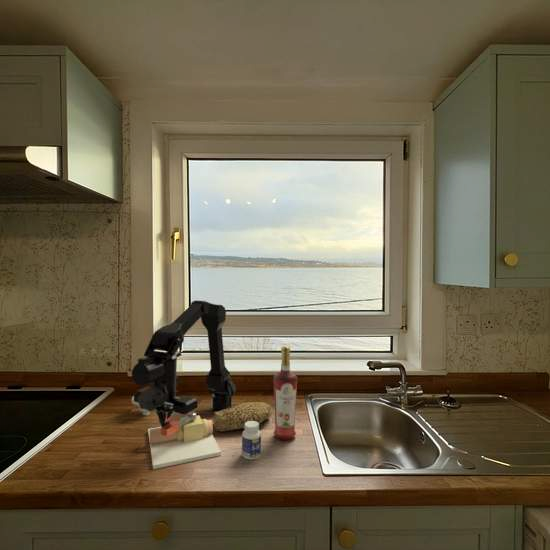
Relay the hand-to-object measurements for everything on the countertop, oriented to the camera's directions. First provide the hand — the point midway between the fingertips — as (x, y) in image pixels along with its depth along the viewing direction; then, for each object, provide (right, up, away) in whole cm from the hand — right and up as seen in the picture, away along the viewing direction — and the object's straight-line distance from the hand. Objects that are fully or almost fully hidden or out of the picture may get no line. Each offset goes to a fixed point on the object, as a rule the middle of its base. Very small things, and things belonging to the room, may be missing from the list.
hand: (164, 429), depth 101 cm
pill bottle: (+25, -7, -1) cm, 26 cm away
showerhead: (-14, -6, +25) cm, 29 cm away
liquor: (+34, -7, +10) cm, 36 cm away
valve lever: (+4, 0, +3) cm, 5 cm away
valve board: (+4, -6, +5) cm, 9 cm away
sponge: (+21, -7, +18) cm, 28 cm away
